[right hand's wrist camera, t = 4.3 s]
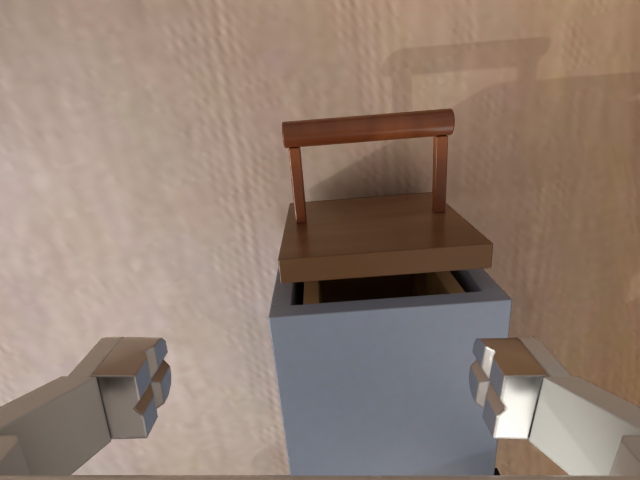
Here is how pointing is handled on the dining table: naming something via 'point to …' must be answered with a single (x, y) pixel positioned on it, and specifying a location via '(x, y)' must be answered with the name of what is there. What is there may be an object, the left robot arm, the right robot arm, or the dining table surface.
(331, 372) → the cabinet
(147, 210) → the dining table surface
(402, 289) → the drawer
